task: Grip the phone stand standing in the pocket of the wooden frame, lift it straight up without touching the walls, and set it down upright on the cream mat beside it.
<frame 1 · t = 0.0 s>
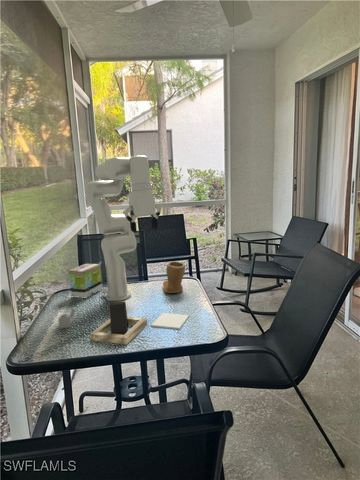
hand: (144, 230, 135), 37 cm above the table, tool pointing down, fingers open, 9 cm apart
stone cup: (174, 290, 173), on the table
cream mat: (170, 321, 135), on the table
tea box: (87, 293, 176), on the table
phone stand: (120, 332, 128), resting in wooden frame
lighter: (69, 326, 136), on the table
wooden frame: (120, 331, 128), on the table
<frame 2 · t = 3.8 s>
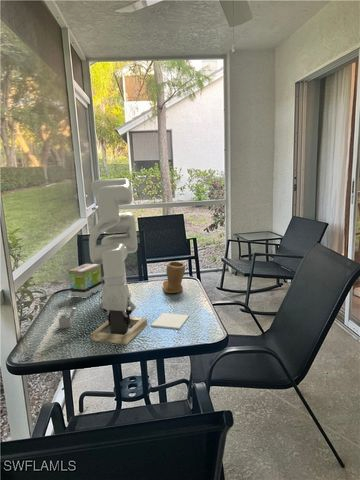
hand: (119, 324, 127), 3 cm above the table, tool pointing down, fingers closed on phone stand, 6 cm apart
phone stand: (120, 332, 128), resting in wooden frame, touching gripper
everything else where it was.
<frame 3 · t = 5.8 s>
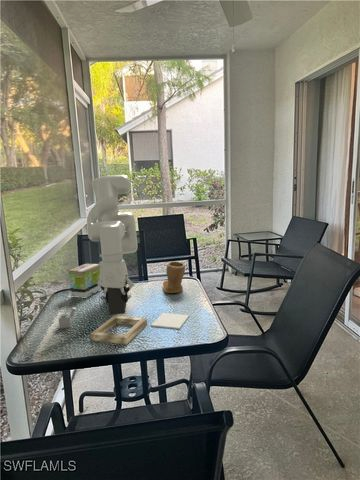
hand: (117, 302, 127), 12 cm above the table, tool pointing down, fingers closed on phone stand, 6 cm apart
phone stand: (118, 310, 127), point 9 cm above the table, touching gripper
everything else where it was.
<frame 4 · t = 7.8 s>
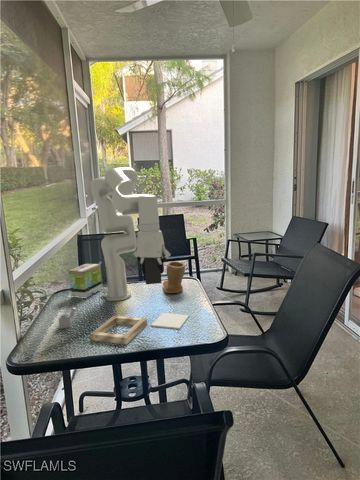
hand: (153, 272, 129), 21 cm above the table, tool pointing down, fingers closed on phone stand, 6 cm apart
phone stand: (153, 281, 130), point 18 cm above the table, touching gripper
everything else where it was.
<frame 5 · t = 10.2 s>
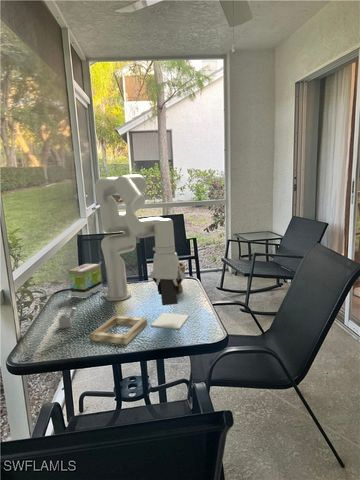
hand: (168, 293, 132), 12 cm above the table, tool pointing down, fingers closed on phone stand, 6 cm apart
phone stand: (169, 301, 133), point 9 cm above the table, touching gripper
everything else where it was.
when the fingers open (5 cm above the table, at t = 12.0 s): phone stand drops 1 cm, resting on cream mat.
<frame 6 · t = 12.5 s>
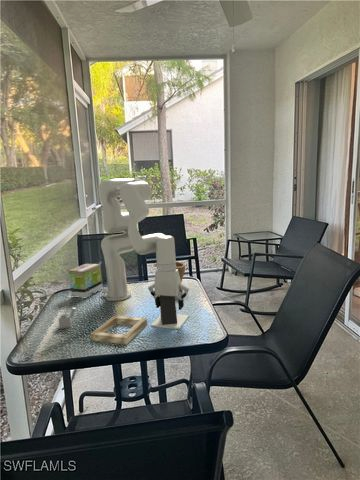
hand: (169, 307, 134), 6 cm above the table, tool pointing down, fingers open, 9 cm apart
phone stand: (168, 320, 135), resting on cream mat
everything else where it was.
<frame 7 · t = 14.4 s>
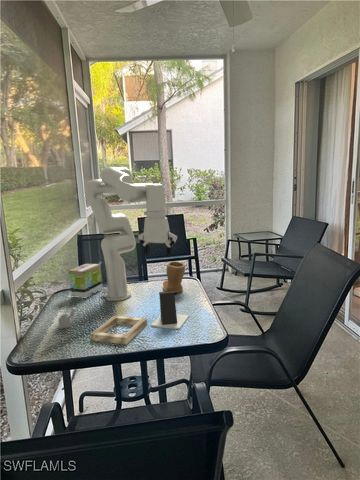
hand: (158, 255, 137), 26 cm above the table, tool pointing down, fingers open, 9 cm apart
nothing on the table moved.
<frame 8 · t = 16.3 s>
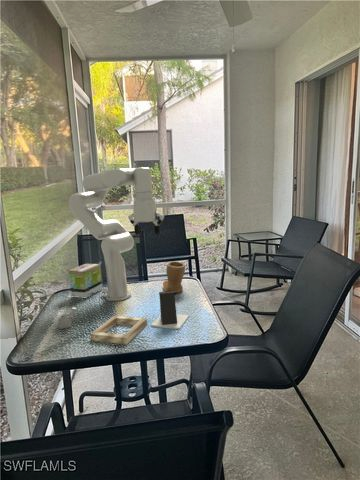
hand: (147, 234, 149), 33 cm above the table, tool pointing down, fingers open, 9 cm apart
nothing on the table moved.
at the end: phone stand inside the target area on the cream mat (0.8 cm from its centre), point 0.4 cm above the cream mat's base; phone stand tilted 0°; the gripper is holding nothing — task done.
